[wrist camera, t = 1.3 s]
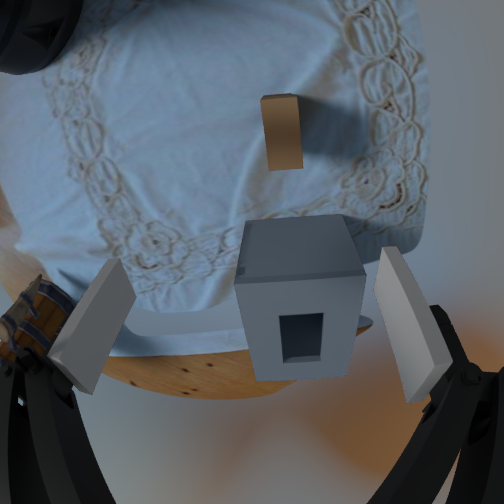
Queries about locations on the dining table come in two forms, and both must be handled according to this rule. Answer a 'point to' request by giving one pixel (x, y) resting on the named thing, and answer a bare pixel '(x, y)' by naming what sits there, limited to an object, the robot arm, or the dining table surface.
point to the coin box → (299, 296)
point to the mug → (33, 318)
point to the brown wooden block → (282, 131)
